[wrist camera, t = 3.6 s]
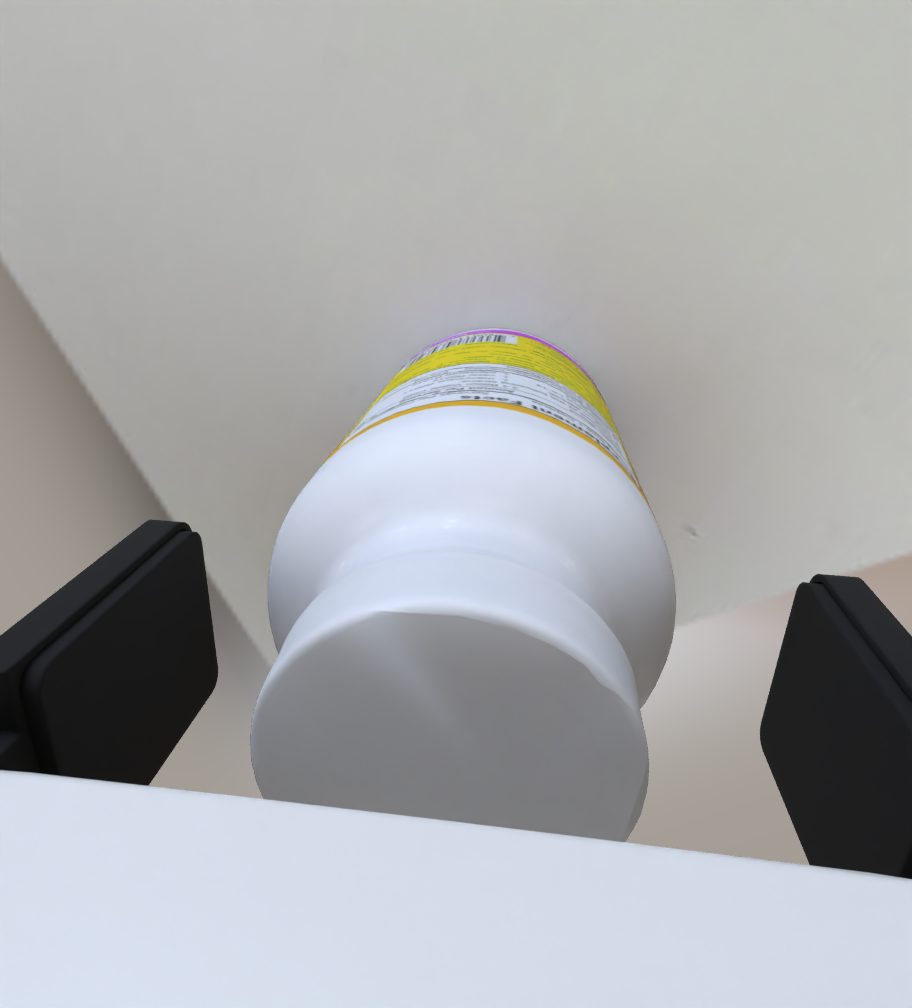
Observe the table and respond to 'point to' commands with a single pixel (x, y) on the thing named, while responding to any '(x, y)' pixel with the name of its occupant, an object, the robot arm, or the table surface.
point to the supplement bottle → (470, 604)
